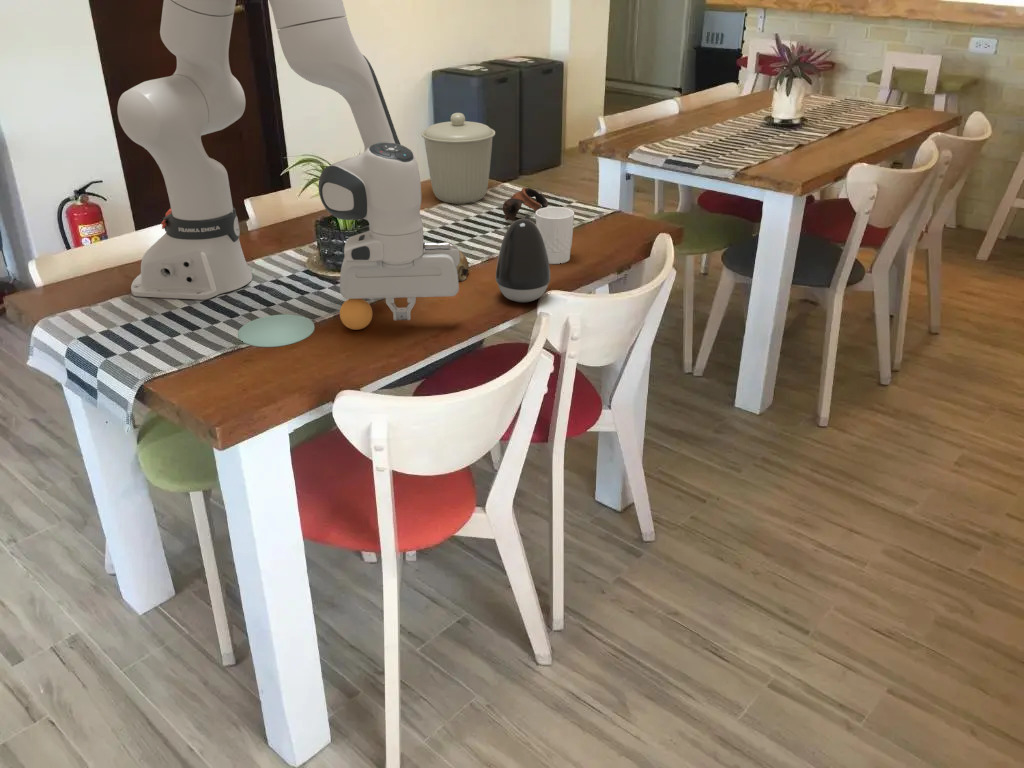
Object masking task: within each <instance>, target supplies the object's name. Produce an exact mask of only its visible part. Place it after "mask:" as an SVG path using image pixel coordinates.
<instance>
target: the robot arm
mask: <svg viewBox="0 0 1024 768" xmlns="http://www.w3.org/2000/svg"><path fill="white" fill-rule="evenodd" d="M268 2H269V5H270V7H271V11H272V15H273V20H274V23H275V28H276V30H277V36H278V40H279V43H280V46H281V50H282V54H283V56H284V58H285V60H286V62H287V64H288V66H289V68H290V69H291V70H292V71H293V72H295V74H296V75H298V76H300V77H301V78H303V79H304V80H305V81H308V82H310V83H312V84H316V85H317V86H318V85H319V86H320V87H324V88H328V89H330V90H332V91H335V92H336V93H338V94H339V95H341V96H342V97H343V98H344V99H345V101H346V102H347V104H348V106H349V108H350V109H351V112H352V116H353V118H354V121H355V124H356V126H357V128H358V131H359V134H360V137H361V140H362V144H363V147H364V151H363V152H361V153H360V154H357V155H355V156H352V157H348V158H345V159H342V160H340V161H336V162H333V163H332V164H330V165H328V166H326V167H325V168H324V169H323V170H322V172H321V173H320V176H319V179H318V195H319V198H320V200H321V203H322V204H323V207H324V208H325V210H326V211H327V212H328V213H329V214H330V215H332V216H333V217H335V218H336V219H339V220H342V221H343V220H346V221H347V220H348V221H357V220H366V221H368V224H369V225H368V226H369V227H368V228H369V230H367V231H364V232H360V233H358V234H356V235H352V236H350V237H348V238H347V240H346V242H345V244H344V249H343V250H344V251H343V254H344V257H343V260H342V263H341V266H340V267H341V268H340V276H339V277H340V278H339V291H340V295H341V296H342V297H343V299H346V300H348V299H364V300H365V299H385V303H386V305H387V306H388V308H389V309H390V311H391V312H392V315H393V316H392V317H393V321H411V318H412V317H411V311H412V310H413V308H414V306H415V305H416V301H417V300H416V299H417V298H428V297H429V298H432V297H433V298H435V297H436V298H437V297H441V298H442V297H455V296H456V295H457V294H458V292H459V291H460V288H459V287H460V285H459V282H458V273H457V268H456V267H457V266H458V265H459V263H460V252H459V251H460V249H459V248H458V247H457V246H456V245H454V244H451V242H425V241H424V225H423V224H424V223H423V220H422V217H421V213H420V212H421V205H422V185H421V176H420V170H419V165H418V164H419V163H418V161H417V158H416V156H415V154H414V152H413V151H412V149H410V148H408V147H407V146H404V145H403V144H401V142H400V139H399V137H398V135H397V132H396V129H395V127H394V126H395V125H394V123H393V120H392V117H391V114H390V111H389V109H388V105H387V103H386V99H385V97H384V93H383V91H382V89H381V86H380V82H379V80H378V77H377V75H376V73H375V70H374V67H373V66H372V64H371V62H370V61H369V59H368V58H367V57H366V56H365V55H364V54H362V52H361V50H360V49H359V46H358V45H357V43H356V41H355V39H354V37H353V34H352V31H351V29H350V25H349V21H348V18H347V13H346V10H345V6H344V5H345V4H344V1H343V0H268ZM236 3H237V0H163V3H162V12H161V21H160V28H159V29H160V30H159V34H160V40H161V41H162V43H163V44H164V47H166V48H167V50H168V51H169V52H170V53H171V54H173V55H174V56H175V57H176V68H175V71H174V72H173V74H172V75H170V76H165V77H160V78H155V79H149V80H145V81H143V82H140V83H139V84H137V85H134V86H133V87H131V88H129V89H128V90H126V91H124V92H122V94H121V95H120V97H119V99H118V103H117V110H116V111H117V117H118V122H119V125H120V126H121V128H122V130H123V132H124V134H126V136H127V137H128V138H129V139H130V140H131V141H132V142H134V143H135V144H137V145H138V146H140V147H142V148H144V150H147V152H148V153H149V154H150V155H151V157H152V158H153V159H154V160H155V163H156V164H157V166H158V168H159V170H160V171H161V175H162V177H163V179H164V183H165V188H166V192H167V194H168V200H169V204H170V208H169V209H168V210H167V212H165V216H164V217H163V218H162V222H161V229H162V230H165V233H164V234H163V235H162V236H161V237H160V238H159V239H158V240H156V241H155V242H154V243H153V244H152V245H150V247H149V248H148V249H147V251H145V253H144V254H143V256H142V259H141V263H140V273H139V275H137V276H135V278H134V279H133V281H132V282H131V287H130V289H131V291H130V292H131V294H132V295H133V296H134V297H141V298H142V297H143V298H160V299H161V298H164V299H165V298H166V299H182V300H183V299H184V300H202V301H204V300H209V299H212V298H213V297H216V296H218V295H221V294H225V293H229V292H232V291H236V290H238V289H241V288H242V287H244V286H246V285H248V284H249V283H250V282H251V281H252V280H253V274H252V271H251V270H250V268H249V265H248V262H247V261H246V260H247V259H246V258H245V255H244V252H243V249H242V246H241V242H240V234H241V233H240V225H239V219H238V216H237V212H236V208H235V207H234V206H233V200H232V195H231V189H230V180H229V175H228V171H227V169H226V168H225V166H224V165H223V164H222V163H221V162H219V160H218V161H217V160H215V159H214V158H211V157H209V155H208V154H207V152H206V150H205V147H204V146H203V145H204V144H203V142H202V136H205V135H207V134H208V135H209V134H212V133H215V132H218V131H223V130H224V129H226V128H228V127H229V126H230V125H232V124H234V123H235V122H236V121H238V120H239V119H241V118H242V116H243V114H244V112H245V110H246V96H245V91H244V89H243V86H242V85H241V83H240V81H239V80H238V79H237V78H236V77H235V76H234V75H233V74H232V71H231V66H230V60H229V59H230V58H229V50H230V49H229V48H230V42H231V41H230V40H231V34H232V28H233V21H234V16H235V15H234V14H235V9H236ZM451 247H453V248H451ZM395 298H397V299H399V298H401V299H402V298H406V299H407V301H406V302H407V306H405V307H398V306H397V305H396V304H395Z"/></svg>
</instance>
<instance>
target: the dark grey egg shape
mask: <svg viewBox="0 0 1024 768" xmlns="http://www.w3.org/2000/svg"><path fill="white" fill-rule="evenodd" d="M499 249H500V250H499V253H498V257H497V261H496V268H495V269H496V270H495V282H496V283H497V285H498V289H499V291H500V292H501V293H502V295H503V296H504V297H505V298H506V299H508V300H510V301H513V302H516V303H529V302H530V303H531V302H533V301H535V300H536V301H537V300H538V299H539V298H541V297H542V296H543V295H544V294H545V292H546V290H547V289H548V286H549V283H550V281H551V269H550V264H549V261H548V256H547V251H546V248H545V244H544V241H543V238H542V235H541V233H540V231H539V229H538V228H537V226H536V223H534V222H533V221H532V220H531V217H530V216H529V215H528V214H527V215H525V216H524V218H518V219H515V220H513V222H511V224H510V225H509V226H508V228H507V230H506V231H505V234H504V237H503V239H502V242H501V246H500V248H499Z"/></svg>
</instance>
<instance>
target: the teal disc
mask: <svg viewBox="0 0 1024 768" xmlns="http://www.w3.org/2000/svg"><path fill="white" fill-rule="evenodd" d="M314 332H315V323H314V322H313V321H312V320H311V319H310V318H308V317H305V316H302V315H297V314H273V315H266V316H263V317H259V318H258V317H257V318H255V319H253V320H250V321H249V322H245V324H244V325H241V327H240V328H239V330H238V331H237V337H238V339H239V340H240V341H241V342H242V341H243V342H242V343H244V344H245V345H249V346H252V347H256V348H257V347H258V348H259V347H260V348H275V347H276V348H278V347H284V346H289V345H292V344H296V343H298V342H302V341H303V340H305V339H307V338H308V337H310V336H311V335H312V334H313V333H314Z"/></svg>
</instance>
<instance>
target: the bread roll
mask: <svg viewBox="0 0 1024 768" xmlns="http://www.w3.org/2000/svg"><path fill="white" fill-rule="evenodd" d="M451 248H453V247H451ZM459 252H460V263H459V265H458V266H457V267H456V268H457V273H458V283H459V282H464V281H465V280H466V279H467V275H468V272H469V262H468V259H467V257H466V256H465V254H464V253H463V252H462V251H461V250H459Z"/></svg>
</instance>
